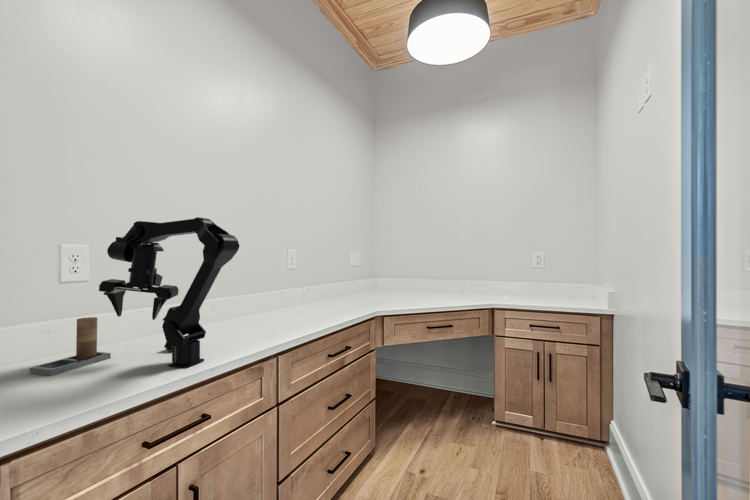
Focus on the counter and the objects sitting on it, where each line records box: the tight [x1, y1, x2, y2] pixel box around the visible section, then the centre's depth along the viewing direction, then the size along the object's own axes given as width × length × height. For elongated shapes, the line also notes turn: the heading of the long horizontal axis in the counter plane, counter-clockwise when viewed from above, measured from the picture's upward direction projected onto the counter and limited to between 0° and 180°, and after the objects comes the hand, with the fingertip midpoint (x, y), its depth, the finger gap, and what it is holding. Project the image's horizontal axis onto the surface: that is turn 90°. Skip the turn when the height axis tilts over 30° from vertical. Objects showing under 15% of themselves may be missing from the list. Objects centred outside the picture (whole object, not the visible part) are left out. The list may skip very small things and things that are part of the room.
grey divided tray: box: [29, 351, 112, 377], centre depth 94 cm, size 8×15×2 cm, turn 165°
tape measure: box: [163, 341, 173, 351], centre depth 109 cm, size 7×7×4 cm
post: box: [75, 316, 98, 360], centre depth 97 cm, size 4×4×12 cm
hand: (136, 317), depth 99 cm, fingers open, 9 cm apart
